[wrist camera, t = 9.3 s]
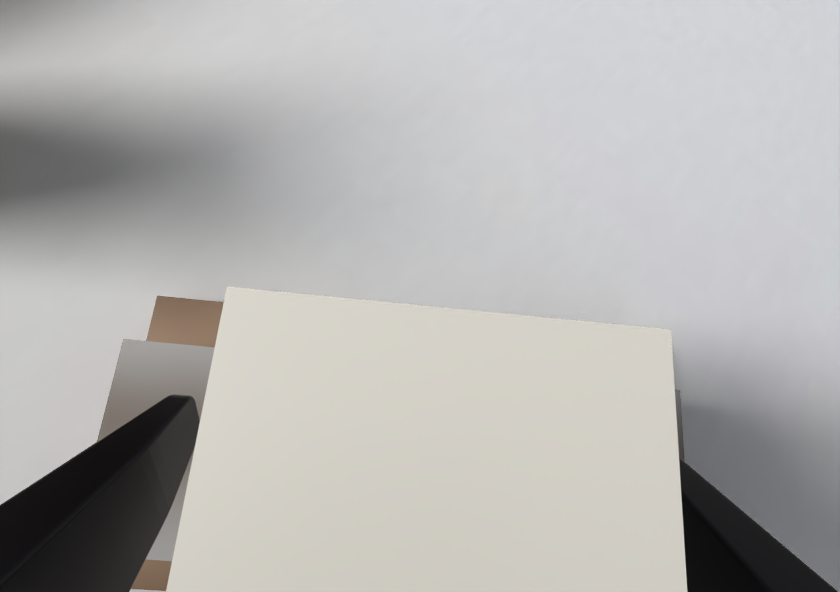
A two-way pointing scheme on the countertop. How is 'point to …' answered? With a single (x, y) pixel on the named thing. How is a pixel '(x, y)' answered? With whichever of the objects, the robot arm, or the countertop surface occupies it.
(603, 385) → the block
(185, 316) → the rail board
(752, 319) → the countertop surface
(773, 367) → the countertop surface
